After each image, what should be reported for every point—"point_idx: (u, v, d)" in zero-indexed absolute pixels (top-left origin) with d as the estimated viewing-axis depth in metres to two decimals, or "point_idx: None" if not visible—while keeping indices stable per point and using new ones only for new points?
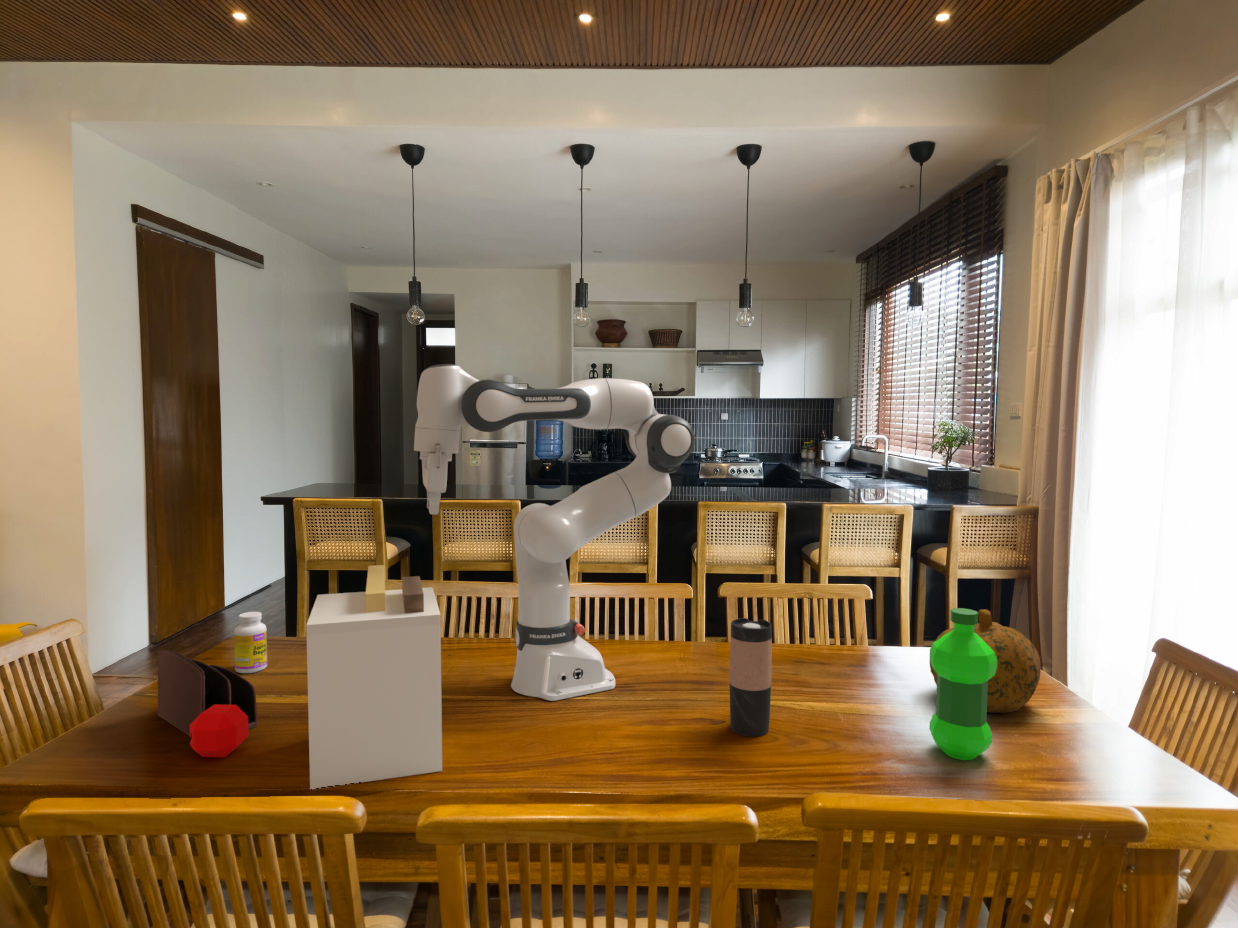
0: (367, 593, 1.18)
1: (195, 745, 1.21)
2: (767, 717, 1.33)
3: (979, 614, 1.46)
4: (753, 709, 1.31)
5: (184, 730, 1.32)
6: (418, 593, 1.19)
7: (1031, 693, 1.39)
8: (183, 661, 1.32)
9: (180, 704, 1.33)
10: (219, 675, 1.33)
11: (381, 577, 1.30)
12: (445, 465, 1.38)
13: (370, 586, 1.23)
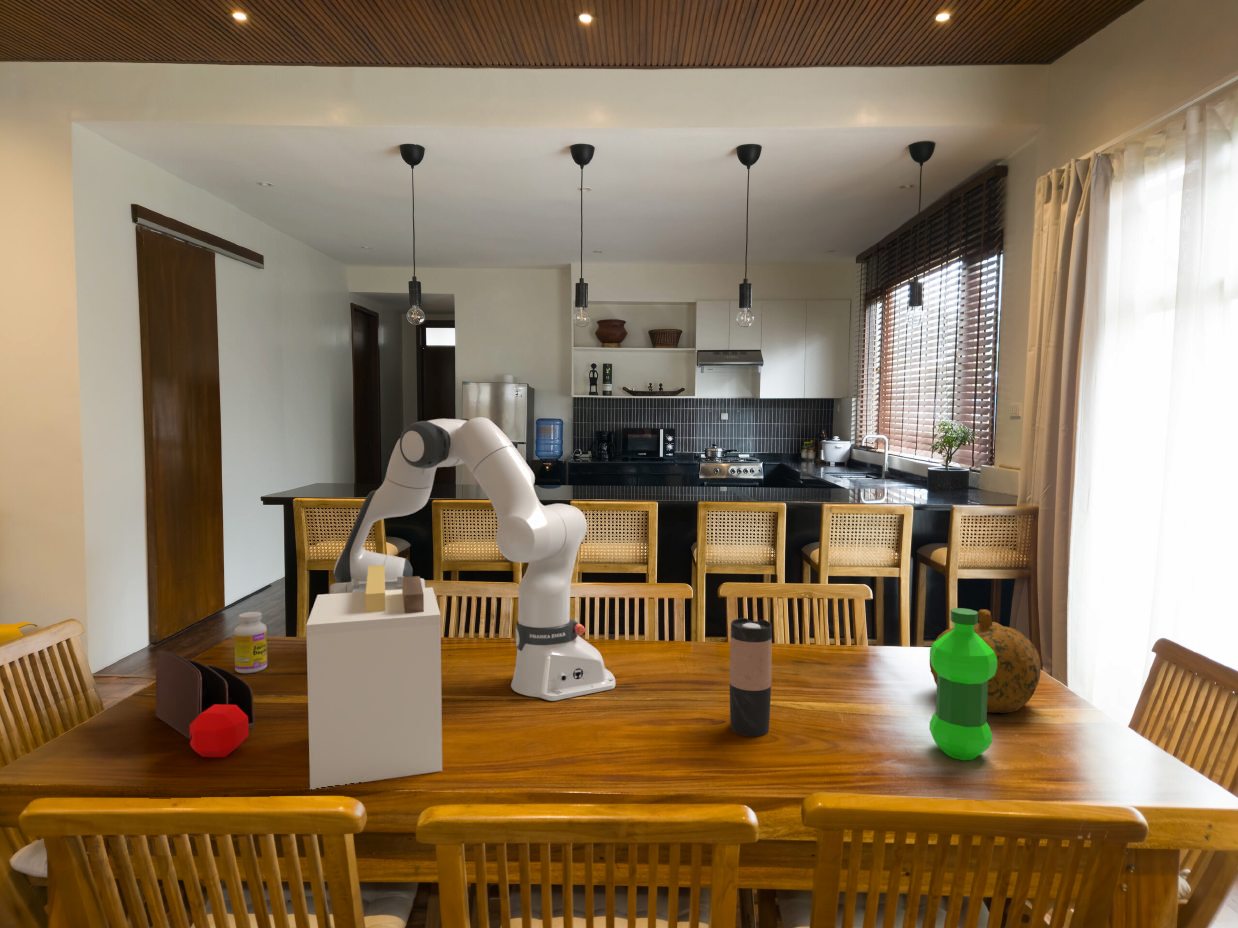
0: (367, 593, 1.18)
1: (195, 745, 1.21)
2: (767, 717, 1.33)
3: (979, 614, 1.46)
4: (753, 709, 1.31)
5: (181, 731, 1.32)
6: (418, 593, 1.19)
7: (1031, 693, 1.39)
8: (180, 661, 1.32)
9: (177, 705, 1.33)
10: (216, 676, 1.32)
11: (381, 577, 1.30)
12: None
13: (370, 586, 1.23)
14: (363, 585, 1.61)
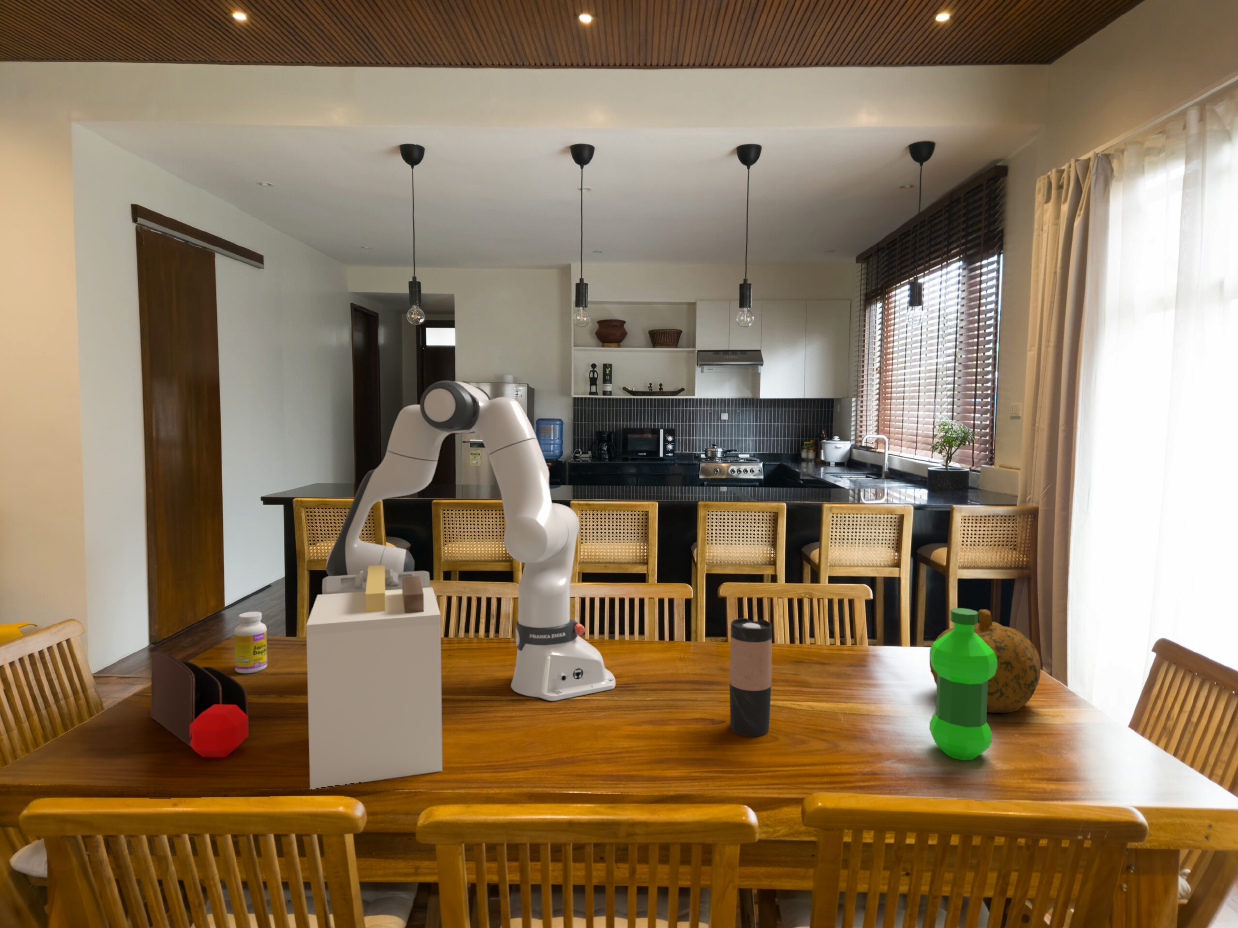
0: (367, 593, 1.18)
1: (195, 745, 1.21)
2: (767, 717, 1.33)
3: (979, 614, 1.46)
4: (753, 709, 1.31)
5: (175, 733, 1.31)
6: (418, 593, 1.19)
7: (1031, 693, 1.39)
8: (174, 663, 1.31)
9: (171, 706, 1.32)
10: (210, 678, 1.32)
11: (381, 577, 1.30)
12: None
13: (370, 586, 1.23)
14: None
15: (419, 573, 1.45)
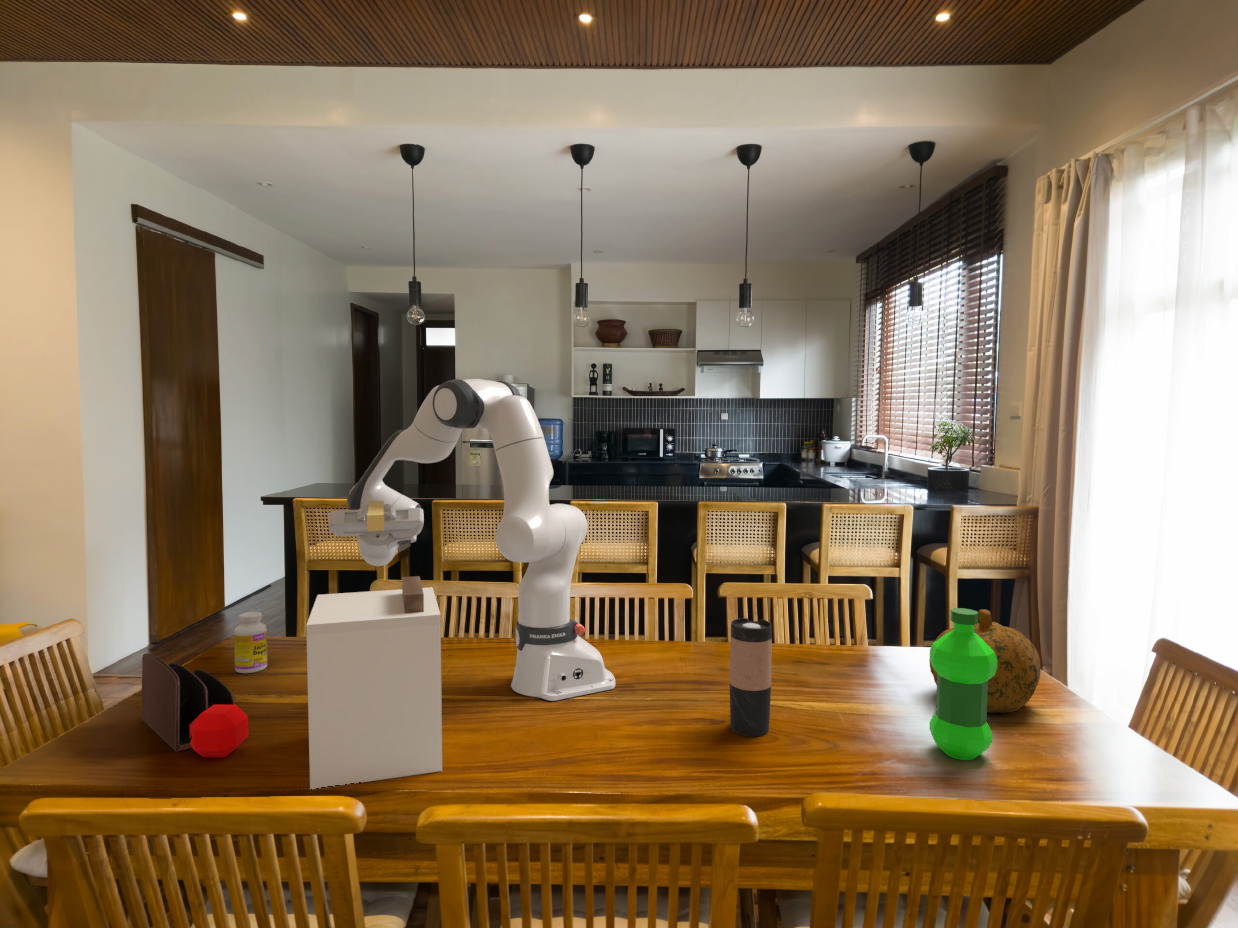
0: (368, 515, 1.37)
1: (195, 745, 1.21)
2: (767, 717, 1.33)
3: (979, 614, 1.46)
4: (753, 709, 1.31)
5: (162, 736, 1.29)
6: (418, 593, 1.19)
7: (1031, 693, 1.39)
8: (162, 666, 1.29)
9: (159, 709, 1.30)
10: (197, 681, 1.30)
11: (380, 507, 1.49)
12: None
13: (371, 511, 1.42)
14: None
15: (414, 509, 1.63)
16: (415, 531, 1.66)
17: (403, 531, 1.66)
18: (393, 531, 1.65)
